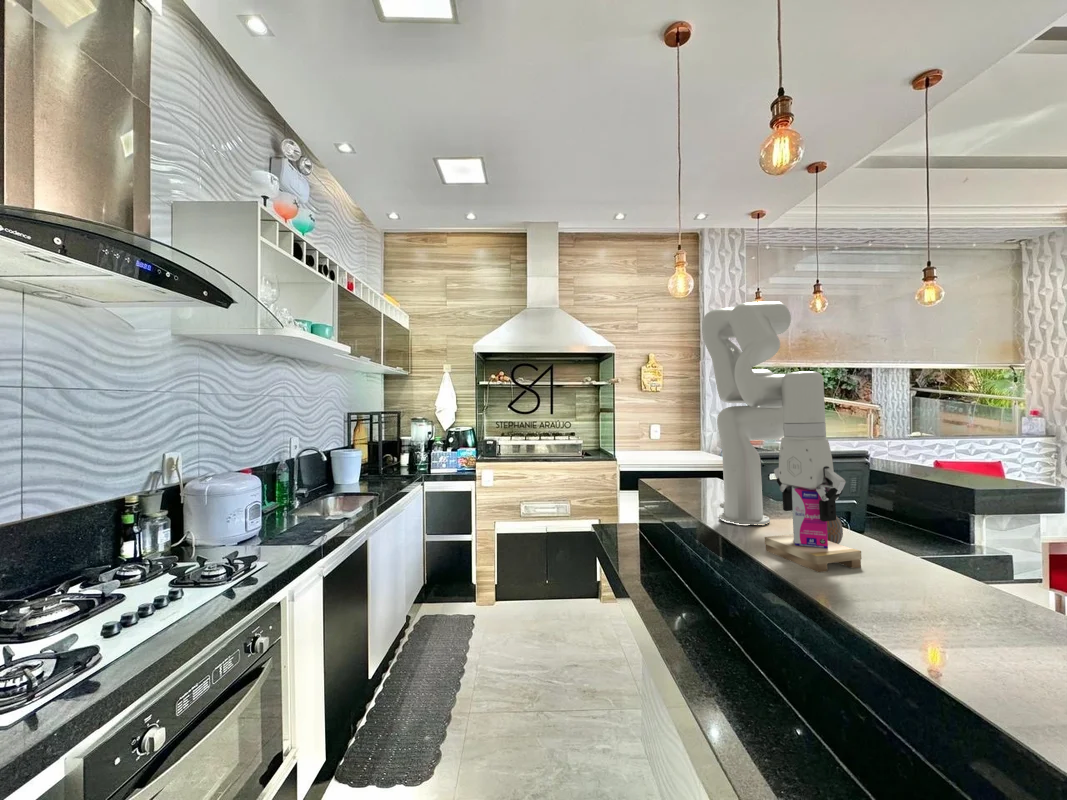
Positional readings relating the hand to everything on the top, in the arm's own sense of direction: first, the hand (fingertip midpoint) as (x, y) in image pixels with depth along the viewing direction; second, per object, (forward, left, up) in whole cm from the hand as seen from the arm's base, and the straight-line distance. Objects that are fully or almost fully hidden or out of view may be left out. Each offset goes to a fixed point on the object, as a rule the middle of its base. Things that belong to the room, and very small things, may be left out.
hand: (808, 515), depth 93 cm
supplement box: (0, 0, -6) cm, 6 cm away
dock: (0, 0, -9) cm, 9 cm away
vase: (-7, +10, -9) cm, 15 cm away
